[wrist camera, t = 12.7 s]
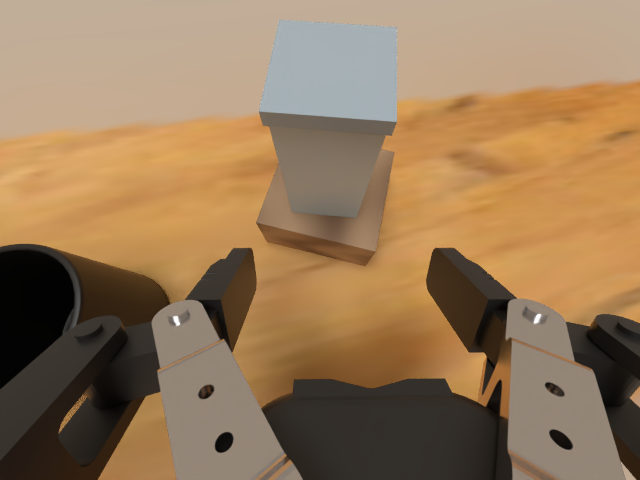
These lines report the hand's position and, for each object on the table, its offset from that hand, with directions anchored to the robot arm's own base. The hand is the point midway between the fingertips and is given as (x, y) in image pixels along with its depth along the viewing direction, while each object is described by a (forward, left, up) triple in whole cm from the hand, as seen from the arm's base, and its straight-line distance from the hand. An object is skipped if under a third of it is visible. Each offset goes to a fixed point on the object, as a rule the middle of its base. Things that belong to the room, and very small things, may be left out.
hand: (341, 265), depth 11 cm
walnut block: (0, +9, -13) cm, 16 cm away
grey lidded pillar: (0, +9, -8) cm, 12 cm away
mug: (-20, -3, -13) cm, 24 cm away
